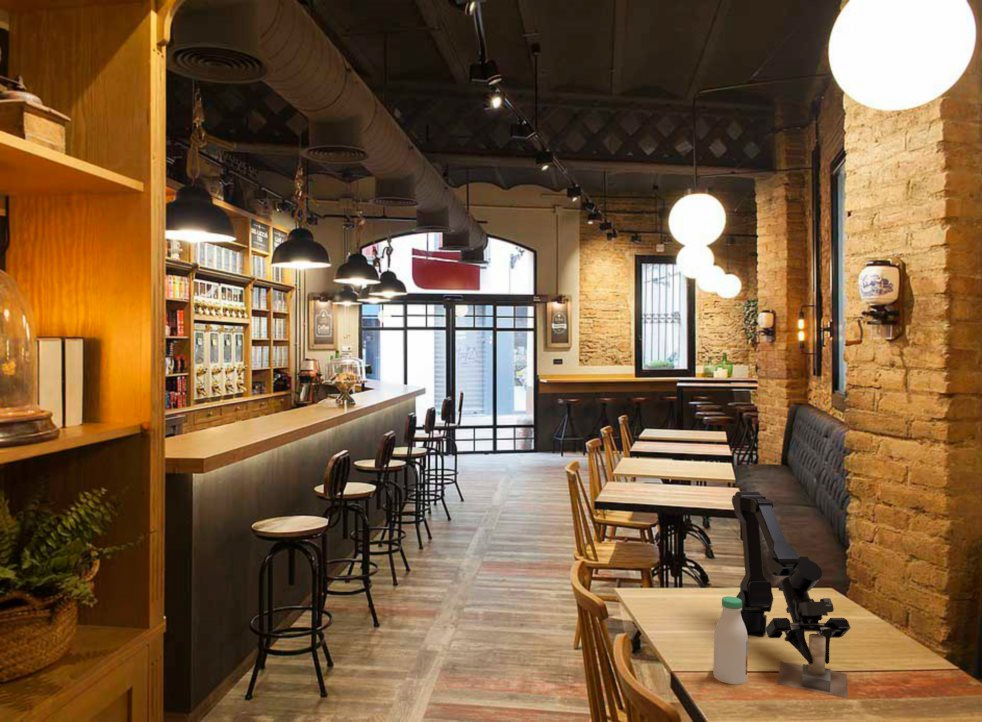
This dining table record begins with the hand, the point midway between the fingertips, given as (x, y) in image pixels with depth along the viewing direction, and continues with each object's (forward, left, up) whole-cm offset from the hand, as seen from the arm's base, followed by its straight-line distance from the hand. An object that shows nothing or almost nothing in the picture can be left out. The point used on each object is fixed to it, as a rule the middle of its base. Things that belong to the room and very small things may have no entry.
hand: (819, 663), depth 168 cm
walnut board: (-1, +3, -6) cm, 7 cm away
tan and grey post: (-1, +1, -5) cm, 5 cm away
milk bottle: (-19, -5, -7) cm, 21 cm away
